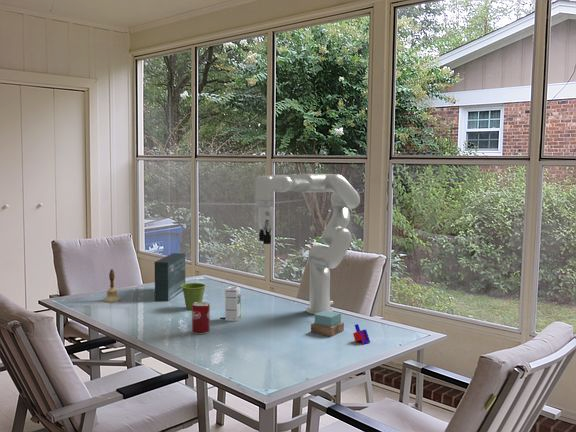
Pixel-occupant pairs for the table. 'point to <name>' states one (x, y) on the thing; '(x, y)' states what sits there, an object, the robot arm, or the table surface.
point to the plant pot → (193, 293)
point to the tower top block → (327, 318)
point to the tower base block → (327, 329)
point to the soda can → (200, 317)
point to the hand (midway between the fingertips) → (264, 242)
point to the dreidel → (361, 335)
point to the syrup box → (232, 303)
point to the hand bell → (112, 290)
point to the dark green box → (169, 276)
